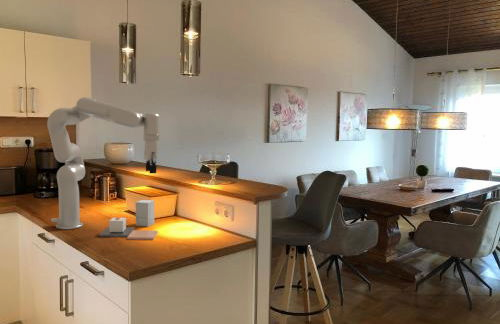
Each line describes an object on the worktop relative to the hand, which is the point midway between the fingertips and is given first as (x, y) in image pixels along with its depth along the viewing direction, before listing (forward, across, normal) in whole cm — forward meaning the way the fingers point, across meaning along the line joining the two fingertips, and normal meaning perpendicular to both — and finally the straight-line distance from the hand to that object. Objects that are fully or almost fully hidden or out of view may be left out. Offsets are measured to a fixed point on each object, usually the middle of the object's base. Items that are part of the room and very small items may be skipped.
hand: (150, 171), depth 210 cm
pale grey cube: (+28, +3, -16) cm, 33 cm away
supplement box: (+30, -9, -1) cm, 31 cm away
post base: (+29, +3, -16) cm, 34 cm away
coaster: (+29, +12, -6) cm, 32 cm away
